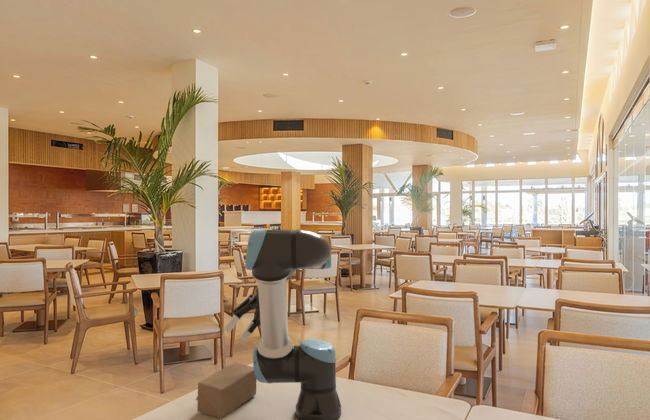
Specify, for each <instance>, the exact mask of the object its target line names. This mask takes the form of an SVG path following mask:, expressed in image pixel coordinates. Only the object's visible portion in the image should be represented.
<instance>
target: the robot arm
mask: <svg viewBox="0 0 650 420" xmlns="http://www.w3.org/2000/svg"><path fill="white" fill-rule="evenodd" d="M245 256H246V257H245V268H246V270H249V271H251V274H252V277H253V278H254V279H255V280H257V288H256V289H255V290H256V291H255V293H256V294H255V295H253V294H251V293H250V295H249V296H248V297H247V298H246V299H245V300H244V301H242V302H241V303H240V304H239V305H238V306H237V307H235V308H234V309H233V310H232V313H233V316H232V317H231V318H230V320H229V321H228V322H227V324H226V325H225V326H224V327H223V330H224V331H225V332H227V334H230V332H231V331H232V330H233V329H234V327H235V326H236V325H237V324H238V322H239V321H240V320H241V317H243V316H245V314H247V313H249V312H250V311H252V310H253V311H254V310H255V312H254V316H253V319H252V320H251V321H250V322H249V324H247V326H246V328H245V329H244V330H243V332H242V333H241V334H240V335H239V338H240V339H241V340H242V341H244V342H247V340H249V337H250V336H251V335H252V333H254V331H255V330H256V329H257V327H259V326H260V333H261V334H260V335H261V339H260V340H259V341H258V342H257V345H256V346H255V347H254V348H253V353H252V362H253V364H252V365H253V366H252V367H253V368H254V373H255V377H256V379H257V381H258V382H259V383H263V384H279V383H280V384H283V383H284V384H285V383H286V384H287V383H292V384H294V383H297V384H300V391H299V394H298V398H297V402H296V404H295V416H296V417H297V418H298V419H299V420H338V419H339V418H340V417H341V416H342V403H341V401H340V397H339V395H338V391H337V377H336V376H337V372H336V371H337V369H336V365H337V364H336V363H337V357H336V356H337V355H336V347H335V346H334V345H333V344H332V343H330V342H328V341H325V340H320V339H315V338H310V339H309V338H308V339H303V340H301V342H300V344H299V345H294V341H293V339H291V338H292V337H291V338H290V336H289V318H288V317H289V316H288V294H287V293H288V292H287V291H288V290H287V282H288V281H289V280H290V278H291V277H292V275H293V274H294V273H295V272H296V271H297V270H327V269H331V267H332V248H331V244H330V242H329V241H328V240H327V239H326V238H325V237H324V236H323V235H320V234H319V233H316V232H315V231H311V230H307V229H299V228H298V229H267V228H265V229H256V230H253V231H251V232H250V234H249V236H248V241H247V247H246V253H245Z"/></svg>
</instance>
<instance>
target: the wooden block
mask: <svg viewBox="0 0 650 420" xmlns="http://www.w3.org/2000/svg"><path fill="white" fill-rule="evenodd" d="M257 381H258V380H257V379H256V377H255V373H254V368H253V366H251V365H247V364H244V363H239V362H232V363H230V364H229V365H227V366H225V367H224V368H221V369H220V370H218V371H217V372H215V373H213V374H211V375H210V376H208V377H205V379H202V380H201V381H199V382H198V383H197V397H198V399H197V412H199V413H202V414H205V415H207V416H210V417H214V418H217V419H223V418H225V417H226V416H227V415H229V414H230V413H231V412H232V411H235V410H236V409H237V408H239V407H240V406H241V405H243V404H244V403H246V402H247V401H249V400H250V399H252V398H253V397H254V396H256V395H257Z"/></svg>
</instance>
